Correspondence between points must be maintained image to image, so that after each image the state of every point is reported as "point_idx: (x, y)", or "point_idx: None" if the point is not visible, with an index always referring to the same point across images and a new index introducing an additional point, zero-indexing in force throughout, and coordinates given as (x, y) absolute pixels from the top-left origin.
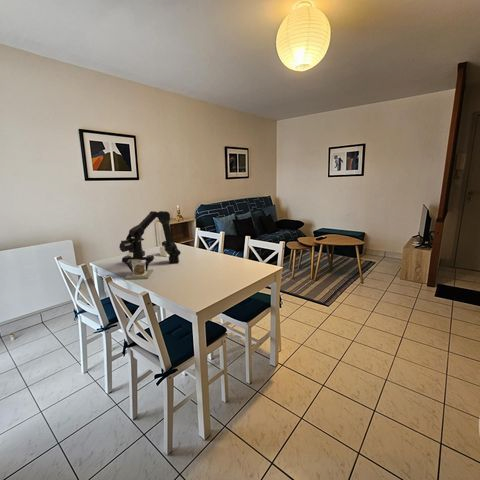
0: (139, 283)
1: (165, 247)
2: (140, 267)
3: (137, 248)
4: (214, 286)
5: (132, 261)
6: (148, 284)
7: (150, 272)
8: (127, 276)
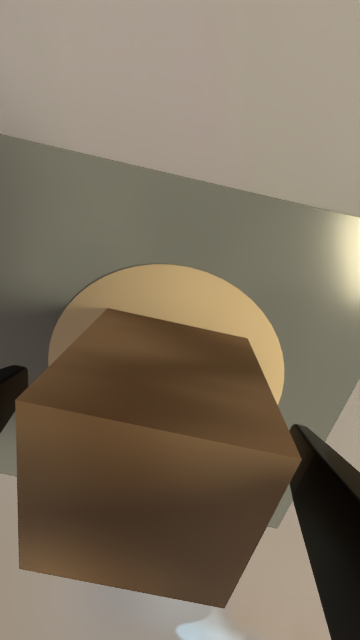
0: None
1: None
2: (190, 592)
3: None
4: None
5: None
6: (266, 600)
7: (341, 388)
8: (10, 439)
